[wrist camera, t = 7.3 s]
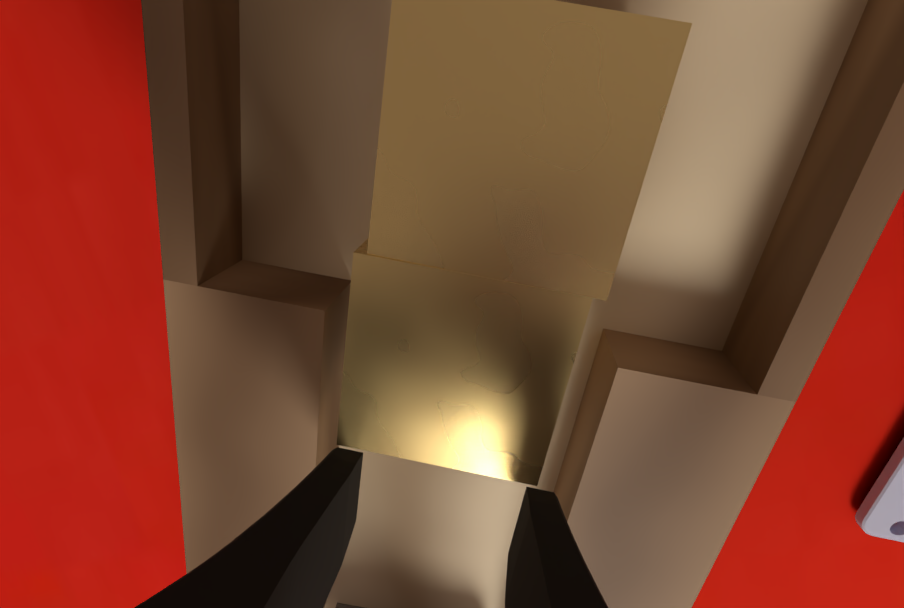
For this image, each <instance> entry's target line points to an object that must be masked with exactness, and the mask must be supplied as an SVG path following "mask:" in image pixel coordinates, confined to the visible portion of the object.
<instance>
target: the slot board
mask: <svg viewBox="0 0 904 608" xmlns="http://www.w3.org/2000/svg"><path fill="white" fill-rule="evenodd" d="M556 1H562V2H568V3H574V4H580V5H586V6H592V7H598V8H604V9H610V10H616V11H622V12H628V13H634V14H640V15H646V16H652V17H658V18H664V19H670V20H676V21H682V22H688V23H692V26H691V29H690V33H689V36H688V39H687V42H686V46H685V49H684V52H683V55H682V59H681V62H680V65H679V68H678V71H677V75H676V78H675V81H674V84H673V88H672V91H671V94H670V97H669V101H668V104H667V107H666V110H665V114H664V117H663V120H662V123H661V126H660V130H659V133H658V136H657V139H656V143H655V146H654V149H653V152H652V156H651V159H650V162H649V165H648V169H647V172H646V175H645V178H644V181H643V185H642V188H641V191H640V194H639V198H638V201H637V204H636V207H635V211H634V214H633V217H632V220H631V224H630V227H629V230H628V233H627V236H626V240H625V243H624V246H623V249H622V253H621V256H620V259H619V262H618V266H617V269H616V272H615V275H614V278H613V282H612V285H611V288H610V291H609V295H608V298H607V301H605V300H600V299H595V298H593V300H592V303H591V307H590V310H589V313H588V317H587V320H586V324H585V327H584V330H583V334H582V337H581V340H580V344H579V347H578V351H577V354H576V357H575V361H574V364H573V367H572V371H571V374H570V377H569V381H568V384H567V388H566V391H565V394H564V398H563V401H562V404H561V408H560V411H559V414H558V418H557V421H556V425H555V428H554V431H553V435H552V438H551V441H550V445H549V448H548V452H547V455H546V458H545V462H544V465H543V468H542V472H541V475H540V478H539V482H538V485H537V486H534V485H529V484H524V483H520V482H515V481H510V480H505V479H500V478H495V477H490V476H486V475H481V474H476V473H471V472H466V471H461V470H457V469H452V468H447V467H442V466H437V465H432V464H427V463H423V462H418V461H413V460H408V459H403V458H398V457H394V456H389V455H384V454H379V453H374V452H369V451H365V450H360V449H355V448H350V447H345V446H340V445H337V433H338V422H339V411H340V399H341V388H342V376H343V365H344V353H345V342H346V330H347V319H348V307H349V296H350V284H351V273H352V261H353V252H354V251H355V250H356V249H357V248H358V247H359V246H360V245H361V244H362V243H363V242H364V241H365V240H367V239H368V238H369V228H370V218H371V208H372V198H373V188H374V178H375V168H376V157H377V147H378V137H379V127H380V117H381V107H382V97H383V86H384V76H385V66H386V56H387V46H388V36H389V25H390V15H391V5H392V0H141V3H142V15H143V28H144V41H145V53H146V66H147V79H148V91H149V104H150V116H151V129H152V142H153V154H154V167H155V180H156V192H157V205H158V217H159V230H160V243H161V255H162V268H163V281H164V293H165V306H166V318H167V331H168V344H169V356H170V369H171V381H172V394H173V407H174V419H175V432H176V445H177V457H178V470H179V482H180V495H181V508H182V520H183V533H184V546H185V558H186V571H187V573H189V572H190V571H192V570H193V569H195V568H196V567H197V566H199V565H200V564H202V563H203V562H205V561H206V560H207V559H209V558H210V557H211V556H213V555H214V554H216V553H217V552H218V551H220V550H221V549H222V548H224V547H225V546H226V545H228V544H229V543H230V542H231V541H233V540H234V539H235V538H236V537H238V536H239V535H240V534H241V533H243V532H244V531H245V530H246V529H247V528H249V527H250V526H251V525H252V524H254V523H255V522H256V521H257V520H259V519H260V518H261V517H262V516H263V515H265V514H266V513H267V512H268V511H269V510H270V509H271V508H273V507H274V506H275V505H276V504H277V503H278V502H279V501H280V500H281V499H283V498H284V497H285V496H286V495H287V494H288V493H289V492H290V491H291V490H293V489H294V488H295V487H296V486H297V485H298V484H299V483H300V482H301V481H302V480H303V479H304V478H305V477H306V476H307V475H308V474H309V473H310V472H311V471H312V470H313V469H314V468H315V467H316V466H317V465H318V464H319V463H320V462H321V461H322V460H323V459H324V458H325V457H326V456H327V455H328V454H329V453H330V452H331V451H332V450H333V449H335V448H337V447H339V448H343V449H348V450H353V451H358V452H363V461H362V470H361V480H360V489H359V499H358V508H357V518H356V523H355V526H354V529H353V532H352V535H351V538H350V541H349V545H348V548H347V551H346V554H345V557H344V560H343V563H342V566H341V568H340V570H339V573H338V575H337V577H336V579H335V582H334V584H333V586H332V589H331V591H330V593H329V595H328V598H327V600H326V602H325V604H324V607H323V608H335V607H336V604H337V602H338V603H343V604H348V605H354V606H359V607H365V608H505V590H506V575H507V561H508V552H509V548H510V544H511V541H512V537H513V534H514V530H515V526H516V523H517V519H518V515H519V512H520V508H521V505H522V501H523V497H524V494H525V490H526V487H531V488H536V489H541V490H545V491H550V492H554V493H555V494H556V496H557V497H558V500H559V503H560V505H561V508H562V510H563V513H564V515H565V518H566V520H567V523H568V525H569V527H570V530H571V532H572V534H573V537H574V539H575V541H576V543H577V546H578V548H579V550H580V552H581V554H582V556H583V559H584V561H585V563H586V565H587V567H588V569H589V571H590V573H591V575H592V577H593V579H594V581H595V583H596V585H597V587H598V589H599V591H600V593H601V595H602V596H603V598H604V600H605V602H606V604H607V606H608V608H691V607H692V605H693V603H694V601H695V599H696V598H697V596H698V594H699V592H700V590H701V588H702V586H703V584H704V582H705V580H706V578H707V576H708V574H709V572H710V570H711V568H712V566H713V564H714V562H715V560H716V558H717V556H718V554H719V552H720V550H721V548H722V546H723V544H724V542H725V540H726V538H727V536H728V534H729V532H730V531H731V529H732V527H733V525H734V523H735V521H736V519H737V517H738V515H739V513H740V511H741V509H742V507H743V505H744V503H745V501H746V499H747V497H748V495H749V493H750V491H751V489H752V487H753V485H754V483H755V481H756V479H757V477H758V475H759V473H760V471H761V469H762V467H763V466H764V464H765V462H766V460H767V458H768V456H769V454H770V452H771V450H772V448H773V446H774V444H775V442H776V440H777V438H778V436H779V434H780V432H781V430H782V428H783V426H784V424H785V422H786V420H787V418H788V416H789V414H790V412H791V410H792V408H793V406H794V404H795V402H796V400H797V399H798V397H799V395H800V393H801V391H802V389H803V387H804V385H805V383H806V381H807V379H808V377H809V375H810V373H811V371H812V369H813V367H814V365H815V363H816V361H817V359H818V357H819V355H820V353H821V351H822V349H823V347H824V345H825V343H826V341H827V339H828V337H829V335H830V333H831V332H832V330H833V328H834V326H835V324H836V322H837V320H838V318H839V316H840V314H841V312H842V310H843V308H844V306H845V304H846V302H847V300H848V298H849V296H850V294H851V292H852V290H853V288H854V286H855V284H856V282H857V280H858V278H859V276H860V274H861V272H862V270H863V268H864V267H865V265H866V263H867V261H868V259H869V257H870V255H871V253H872V251H873V249H874V247H875V245H876V243H877V241H878V239H879V237H880V235H881V233H882V231H883V229H884V227H885V225H886V223H887V221H888V219H889V217H890V215H891V213H892V211H893V209H894V207H895V205H896V203H897V201H898V200H899V198H900V196H901V194H902V192H903V190H904V0H556Z"/></svg>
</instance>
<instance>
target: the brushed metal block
mask: <svg viewBox="0 0 904 608" xmlns="http://www.w3.org/2000/svg"><path fill="white" fill-rule="evenodd" d="M335 608H365V607H359V606H354V605H348V604H343V603H338V602H337V604H336V607H335Z"/></svg>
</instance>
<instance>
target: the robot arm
mask: <svg viewBox="0 0 904 608" xmlns="http://www.w3.org/2000/svg"><path fill="white" fill-rule="evenodd" d="M362 461H363V452H358V451H353V450H348V449H343V448H339V447H337V448H335V449H333V450H332V451H331V452H330V453H329V454H328V455H327V456H326V457H325V458H324V459H323V460H322V461H321V462H320V463H319V464H318V465H317V466H316V467H315V468H314V469H313V470H312V471H311V472H310V473H309V474H308V475H307V476H306V477H305V478H304V479H303V480H302V481H301V482H300V483H299V484H298V485H297V486H296V487H295V488H294V489H293V490H291V491H290V492H289V493H288V494H287V495H286V496H285V497H284V498H283V499H281V500H280V501H279V502H278V503H277V504H276V505H275V506H274V507H273V508H271V509H270V510H269V511H268V512H267V513H266V514H265V515H263V516H262V517H261V518H260V519H259V520H257V521H256V522H255V523H254V524H252V525H251V526H250V527H249V528H247V529H246V530H245V531H244V532H243V533H241V534H240V535H239V536H238V537H236V538H235V539H234V540H233V541H231V542H230V543H229V544H228V545H226V546H225V547H224V548H222V549H221V550H220V551H218V552H217V553H216V554H214V555H213V556H211V557H210V558H209V559H207V560H206V561H205V562H203V563H202V564H200V565H199V566H197V567H196V568H195V569H193V570H192V571H190V572H189V573H187V574H186V575H185V576H183V577H182V578H180V579H179V580H177V581H175V582H174V583H172V584H171V585H169V586H168V587H166V588H165V589H163V590H162V591H160V592H158V593H157V594H155V595H154V596H152V597H151V598H149V599H148V600H146V601H144V602H143V603H141V604H139V605H138V606H136V607H135V608H323V607H324V604H325V602H326V600H327V598H328V595H329V593H330V591H331V589H332V586H333V584H334V582H335V579H336V577H337V575H338V573H339V570H340V568H341V566H342V563H343V560H344V557H345V554H346V551H347V548H348V545H349V541H350V538H351V535H352V532H353V529H354V526H355V523H356V518H357V508H358V499H359V489H360V480H361V470H362ZM855 519H856V522H857V523H858V525H859V526H860V527H861V528H862V530H863V531H864V532H865V533H866V534H869V535H871V536H875V537H880V538H885V539H890V540H895V541H899V542H904V438H903V439H902V441H901V442H900V444H899V445H898V447H897V449H896V450H895V452H894V453H893V455H892V457H891V458H890V460H889V461H888V463H887V465H886V466H885V468H884V469H883V471H882V472H881V474H880V476H879V477H878V479H877V480H876V482H875V484H874V485H873V487H872V488H871V490H870V491H869V493H868V495H867V496H866V498H865V499H864V501H863V503H862V504H861V506H860V507H859V509H858V511H857V513H856V515H855ZM896 522H897V523H896ZM505 608H608V606H607V604H606V602H605V600H604V598H603V596H602V595H601V593H600V591H599V589H598V587H597V585H596V583H595V581H594V579H593V577H592V575H591V573H590V571H589V569H588V567H587V565H586V563H585V561H584V559H583V556H582V554H581V552H580V550H579V548H578V546H577V543H576V541H575V539H574V537H573V534H572V532H571V530H570V527H569V525H568V523H567V520H566V518H565V515H564V513H563V510H562V508H561V505H560V503H559V500H558V497H557V496H556V494H555V493H554V492H550V491H545V490H541V489H536V488H531V487H526V490H525V494H524V497H523V501H522V505H521V508H520V512H519V515H518V519H517V523H516V526H515V530H514V534H513V537H512V541H511V544H510V548H509V552H508V561H507V575H506V590H505Z"/></svg>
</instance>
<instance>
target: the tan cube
mask: <svg viewBox="0 0 904 608" xmlns="http://www.w3.org/2000/svg"><path fill="white" fill-rule="evenodd" d="M368 239H369V238H368ZM368 239H367V240H365V241H364V242H363V243H362V244H361V245H360V246H359V247H358V248H357V249H356V250H355V251H354V252H353V261H352V273H351V284H350V296H349V307H348V319H347V330H346V342H345V353H344V365H343V376H342V388H341V399H340V411H339V422H338V433H337V445H340V446H345V447H350V448H355V449H360V450H365V451H369V452H374V453H379V454H384V455H389V456H394V457H398V458H403V459H408V460H413V461H418V462H423V463H427V464H432V465H437V466H442V467H447V468H452V469H457V470H461V471H466V472H471V473H476V474H481V475H486V476H490V477H495V478H500V479H505V480H510V481H515V482H520V483H524V484H529V485H534V486H537V485H538V482H539V478H540V475H541V472H542V468H543V465H544V462H545V458H546V455H547V452H548V448H549V445H550V441H551V438H552V435H553V431H554V428H555V425H556V421H557V418H558V414H559V411H560V408H561V404H562V401H563V398H564V394H565V391H566V388H567V384H568V381H569V377H570V374H571V371H572V367H573V364H574V361H575V357H576V354H577V351H578V347H579V344H580V340H581V337H582V334H583V330H584V327H585V324H586V320H587V317H588V313H589V310H590V307H591V303H592V300H593V298H589V297H584V296H579V295H574V294H569V293H564V292H559V291H553V290H548V289H543V288H538V287H533V286H528V285H523V284H517V283H512V282H507V281H502V280H497V279H492V278H487V277H481V276H476V275H471V274H466V273H461V272H456V271H451V270H445V269H440V268H435V267H430V266H425V265H420V264H415V263H409V262H404V261H399V260H394V259H389V258H384V257H379V256H373V255H368V254H367V249H368Z"/></svg>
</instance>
